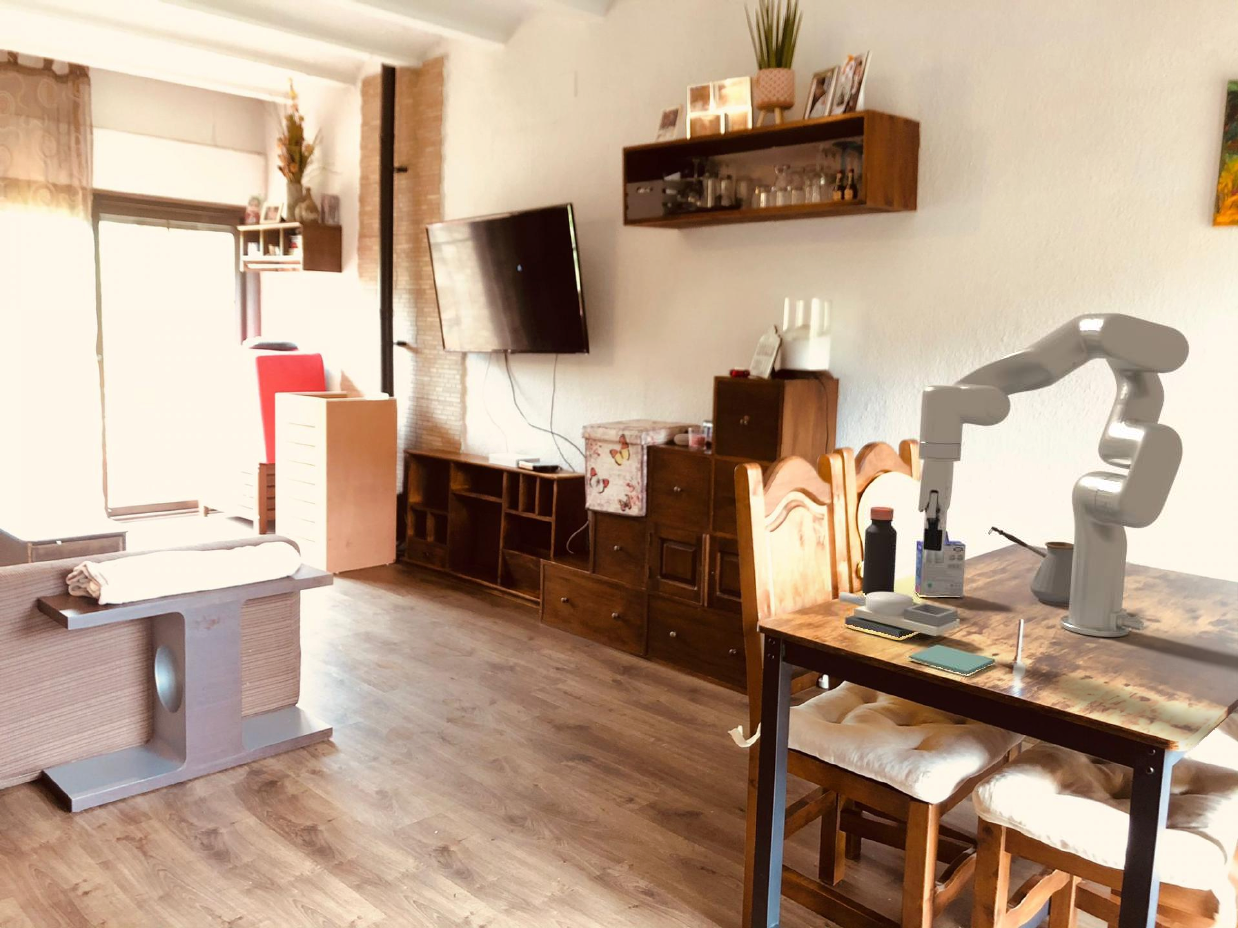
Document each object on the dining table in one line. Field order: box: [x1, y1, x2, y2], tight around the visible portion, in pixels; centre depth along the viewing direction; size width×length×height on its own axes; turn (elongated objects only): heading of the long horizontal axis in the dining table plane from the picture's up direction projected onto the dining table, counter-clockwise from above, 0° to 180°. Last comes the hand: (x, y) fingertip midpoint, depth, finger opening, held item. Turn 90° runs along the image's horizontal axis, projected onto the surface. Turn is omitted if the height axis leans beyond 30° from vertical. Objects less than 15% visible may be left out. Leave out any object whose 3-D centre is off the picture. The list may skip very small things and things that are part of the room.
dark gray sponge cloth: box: [844, 614, 917, 638], centre depth 196 cm, size 12×12×2 cm
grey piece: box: [922, 508, 948, 564], centre depth 187 cm, size 4×4×10 cm
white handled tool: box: [838, 591, 961, 637], centre depth 195 cm, size 24×9×4 cm, turn 43°
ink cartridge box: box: [914, 530, 967, 597], centre depth 222 cm, size 10×6×14 cm, turn 89°
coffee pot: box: [987, 526, 1074, 607], centre depth 222 cm, size 21×12×15 cm, turn 53°
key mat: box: [908, 644, 996, 675], centre depth 176 cm, size 11×10×1 cm
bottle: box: [861, 506, 898, 595], centre depth 219 cm, size 7×7×20 cm
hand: (933, 546), depth 188 cm, fingers closed on grey piece, 4 cm apart
